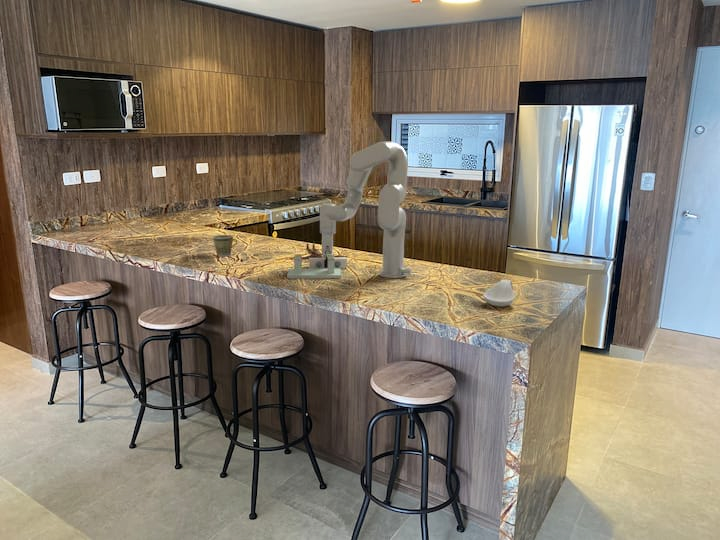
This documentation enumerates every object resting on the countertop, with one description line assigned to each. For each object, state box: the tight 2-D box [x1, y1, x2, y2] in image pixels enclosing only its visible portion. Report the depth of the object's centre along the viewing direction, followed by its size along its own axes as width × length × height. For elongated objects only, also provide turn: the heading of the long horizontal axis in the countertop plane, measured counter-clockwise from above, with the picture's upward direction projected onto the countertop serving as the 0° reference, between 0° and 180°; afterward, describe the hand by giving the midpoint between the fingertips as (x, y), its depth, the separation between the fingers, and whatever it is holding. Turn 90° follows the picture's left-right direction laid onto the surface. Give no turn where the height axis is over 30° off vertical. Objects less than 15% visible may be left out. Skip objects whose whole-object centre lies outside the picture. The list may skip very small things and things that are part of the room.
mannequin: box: [290, 242, 349, 260], centre depth 288 cm, size 26×29×4 cm
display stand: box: [286, 253, 342, 279], centre depth 248 cm, size 24×12×9 cm, turn 93°
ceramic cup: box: [212, 234, 238, 258], centre depth 283 cm, size 13×10×10 cm
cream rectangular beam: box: [308, 257, 348, 270], centre depth 262 cm, size 18×4×5 cm, turn 96°
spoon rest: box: [482, 279, 516, 308], centre depth 216 cm, size 24×12×7 cm, turn 155°
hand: (327, 265), depth 262 cm, fingers open, 8 cm apart
